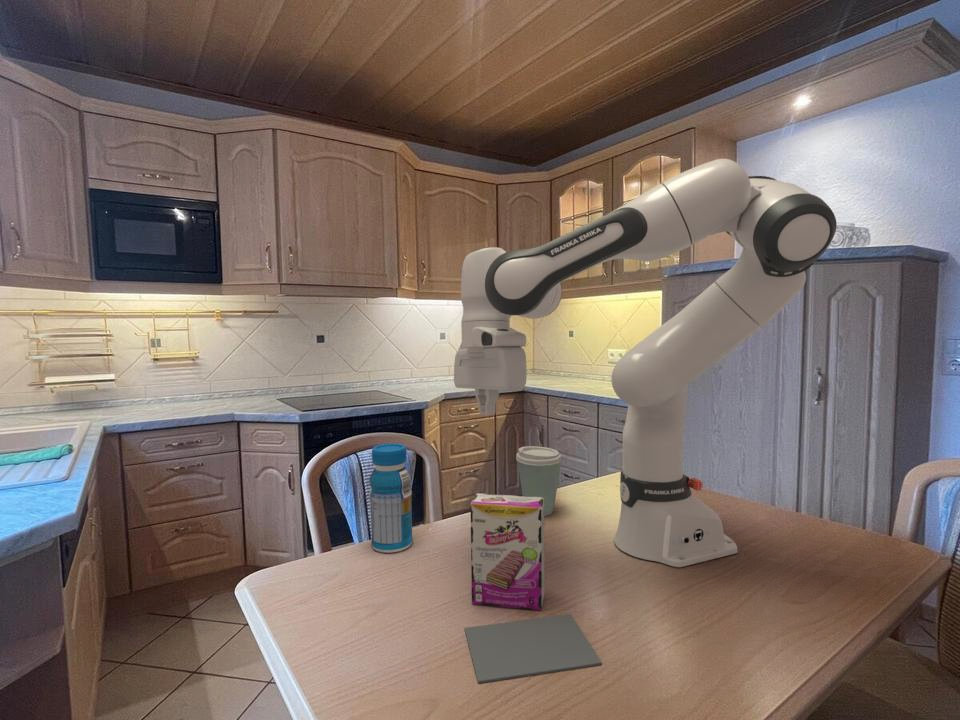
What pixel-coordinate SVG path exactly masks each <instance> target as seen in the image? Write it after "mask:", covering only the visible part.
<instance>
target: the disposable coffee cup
mask: <svg viewBox="0 0 960 720" xmlns="http://www.w3.org/2000/svg"><path fill="white" fill-rule="evenodd" d="M517 449H518V452H517V453H516V456H515V459H516V461H517V466H518V471H519V472H518V474H519V480H520V486H521V493H522V496H529V497H543V498H544V517H548V516H551V515H552V513H553V511H554V510H555V503H556V497H557V490H558V485H559V484H558V483H559V476H560V471H561V464H562V461H563V459H562V457H563V456H562V455H561V453H560V452H559V451H558V450H557V449H553V448H551V447H545V446H534V445H533V446H532V445H528V446H522V447H519V448H517ZM550 514H551V515H550ZM547 515H548V516H547Z"/></svg>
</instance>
